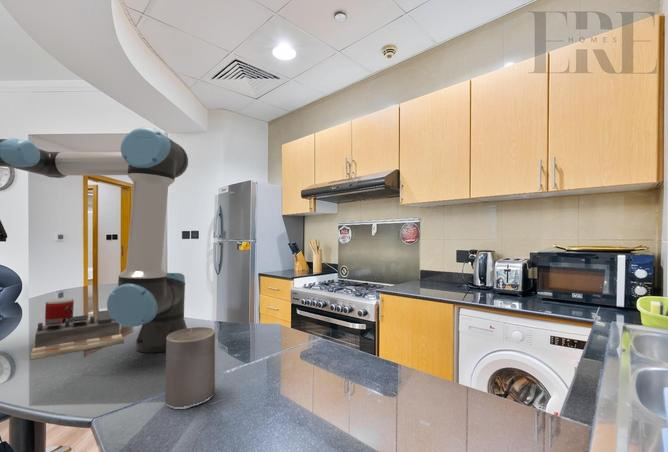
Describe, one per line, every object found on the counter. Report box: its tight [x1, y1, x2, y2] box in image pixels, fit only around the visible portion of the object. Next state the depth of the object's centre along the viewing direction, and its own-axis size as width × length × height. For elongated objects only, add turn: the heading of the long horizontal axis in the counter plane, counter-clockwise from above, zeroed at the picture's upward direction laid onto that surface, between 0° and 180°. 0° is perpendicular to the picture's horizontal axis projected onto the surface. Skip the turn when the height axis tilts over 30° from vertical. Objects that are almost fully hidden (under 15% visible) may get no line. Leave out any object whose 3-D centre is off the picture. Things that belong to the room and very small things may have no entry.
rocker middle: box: [73, 314, 89, 322], centre depth 105 cm, size 9×4×1 cm, turn 41°
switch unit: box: [29, 315, 125, 360], centre depth 102 cm, size 18×22×7 cm
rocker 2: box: [96, 307, 112, 324], centre depth 109 cm, size 9×4×1 cm, turn 40°
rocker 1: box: [46, 318, 62, 325], centre depth 101 cm, size 9×4×1 cm, turn 41°
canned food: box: [44, 297, 75, 326], centre depth 117 cm, size 8×8×11 cm
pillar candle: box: [164, 326, 216, 407], centre depth 67 cm, size 10×10×15 cm
